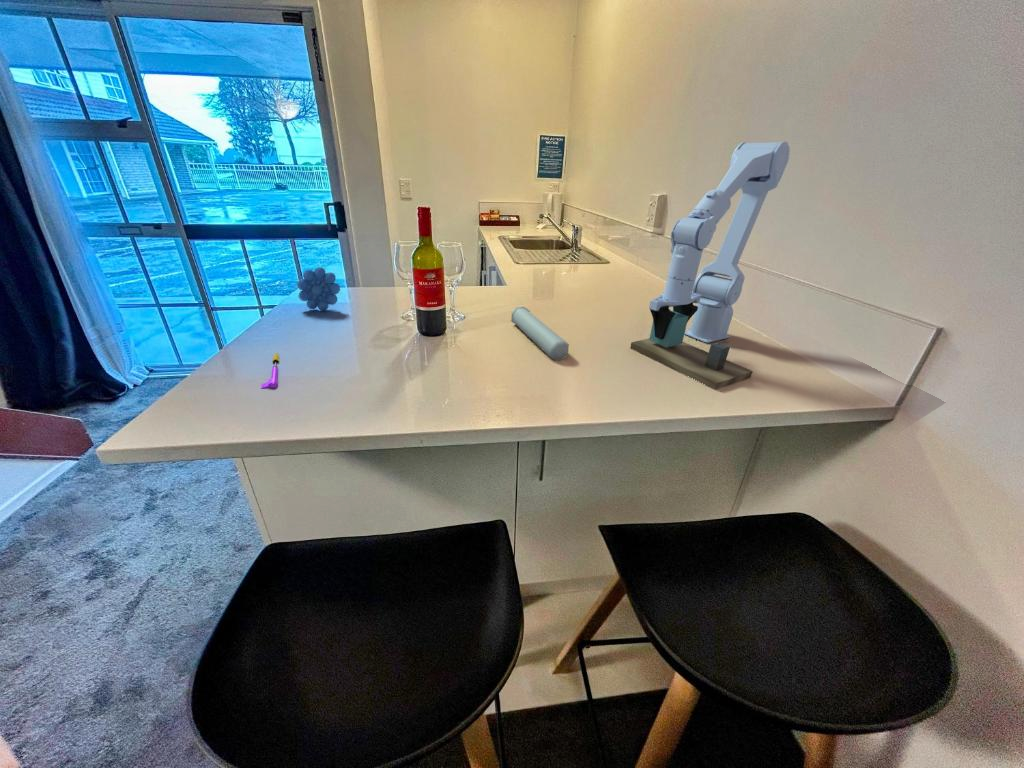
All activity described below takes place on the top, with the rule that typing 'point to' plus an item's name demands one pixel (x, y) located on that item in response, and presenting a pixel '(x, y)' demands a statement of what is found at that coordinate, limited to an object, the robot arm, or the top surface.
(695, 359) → the brown wooden board
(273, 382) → the purple bent rod
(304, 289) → the grapes
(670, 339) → the teal block
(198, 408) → the top surface
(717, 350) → the graphite post
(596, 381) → the top surface
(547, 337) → the tube
